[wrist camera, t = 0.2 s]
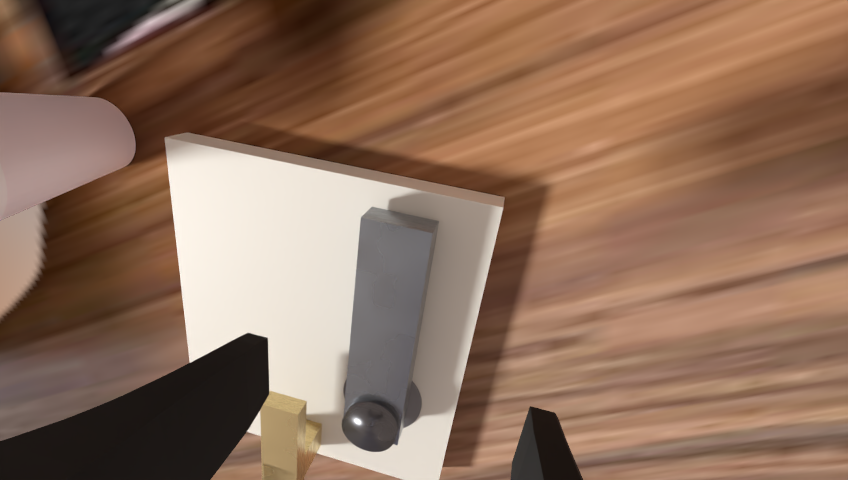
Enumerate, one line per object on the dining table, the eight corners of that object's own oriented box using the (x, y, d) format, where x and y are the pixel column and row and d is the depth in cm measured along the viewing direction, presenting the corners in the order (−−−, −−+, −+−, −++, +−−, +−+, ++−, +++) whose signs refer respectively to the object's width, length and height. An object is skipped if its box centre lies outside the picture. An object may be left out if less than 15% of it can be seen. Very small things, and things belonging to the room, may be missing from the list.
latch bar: (403, 429, 23) (393, 459, 21) (351, 414, 24) (337, 442, 22) (439, 221, 18) (430, 238, 16) (371, 206, 18) (356, 221, 17)
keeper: (322, 445, 26) (296, 495, 23) (291, 436, 26) (262, 484, 23) (326, 369, 23) (298, 414, 20) (293, 360, 24) (260, 403, 21)
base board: (441, 467, 26) (436, 492, 25) (211, 399, 29) (193, 418, 27) (504, 197, 19) (503, 209, 17) (187, 132, 21) (160, 137, 20)
